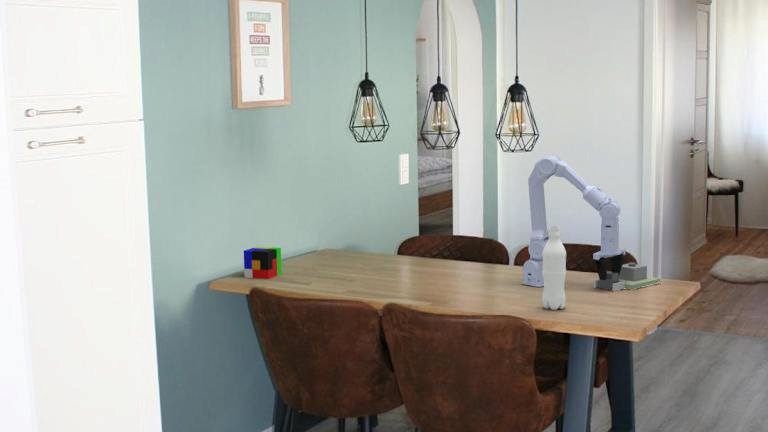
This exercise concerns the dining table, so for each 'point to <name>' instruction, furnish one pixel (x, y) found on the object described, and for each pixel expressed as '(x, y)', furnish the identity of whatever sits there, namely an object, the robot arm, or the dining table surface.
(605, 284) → the grey block
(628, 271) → the stepped base plate
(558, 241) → the water bottle
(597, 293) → the dining table surface
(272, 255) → the puzzle toy
